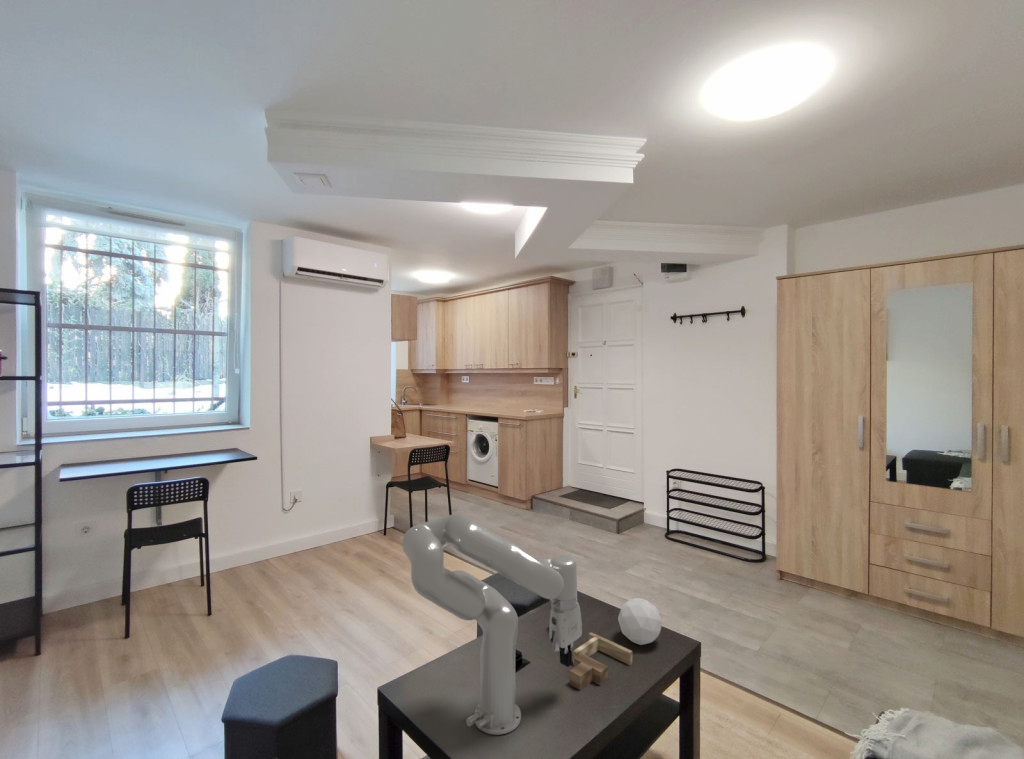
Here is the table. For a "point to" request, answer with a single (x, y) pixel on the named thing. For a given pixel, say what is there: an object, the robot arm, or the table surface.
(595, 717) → the table surface
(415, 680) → the table surface
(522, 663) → the build plate
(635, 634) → the white faceted ball
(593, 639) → the light wooden angled piece
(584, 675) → the tee block
